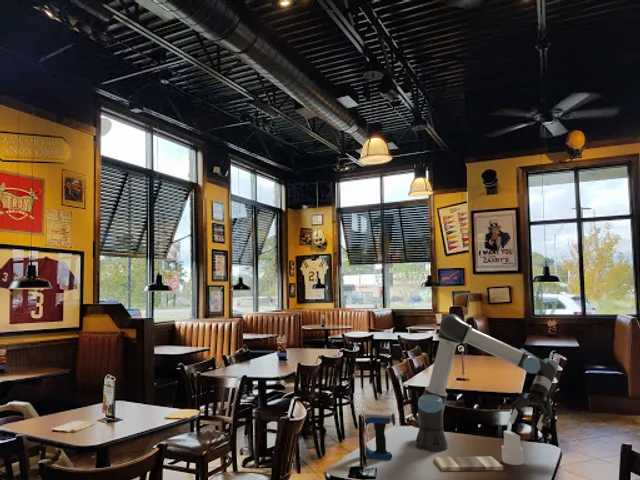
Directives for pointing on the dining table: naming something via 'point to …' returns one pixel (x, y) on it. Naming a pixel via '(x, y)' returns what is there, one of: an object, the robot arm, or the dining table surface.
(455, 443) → the dining table surface
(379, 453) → the cordless power drill
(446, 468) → the pine board
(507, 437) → the base with upright slab
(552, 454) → the dining table surface
